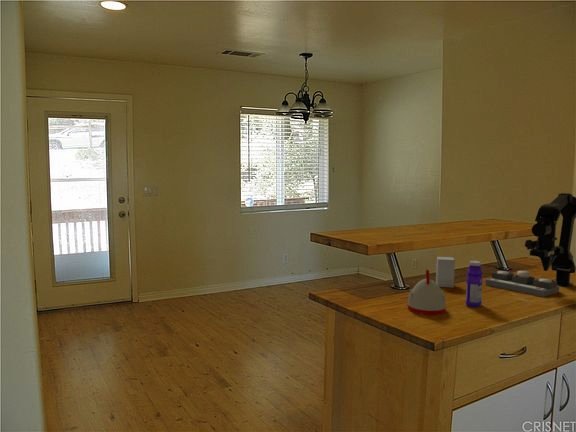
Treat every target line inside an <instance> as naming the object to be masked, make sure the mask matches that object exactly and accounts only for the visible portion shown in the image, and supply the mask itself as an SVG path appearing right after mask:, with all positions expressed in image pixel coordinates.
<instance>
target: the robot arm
mask: <svg viewBox="0 0 576 432" xmlns="http://www.w3.org/2000/svg"><path fill="white" fill-rule="evenodd" d="M560 217H562V223H561V229H560V236H559V242H558V245H556V241H557V240H558V237H556V230H557V223H558V221H559V218H560ZM575 219H576V196H574V195H573V194H572V193H568V192H567V193H566V192H565V193H564V192H561V193H559V194H558V195H557V196H556V197H555V198H554V199H553V200H552V201H551V202H550V203H545V204H542V205H541V206H540V207H539V208H538V210H537V214H536V216H535V218H534V221H535V222H536V223H534V224H533V226H532V227H531V234H533V236H534V237H537V240H532V239H527V240H525V242H524V247H525V248H526V249H527V251H528V250H529V256H533V257H538V258H539V259H540V262H541V264H542V268H543V271H544V272H548V270H549V269H550V267H551V271H555V281H557V286H562V287H569V286H572V285H573V284H574V283H573V282H571V274H576V264H575V261H574V256H573V254H572V252H571V248H572V247H571V245H572V240H573V232H574V224H575Z"/></svg>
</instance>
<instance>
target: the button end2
mask: <svg viewBox="0 0 576 432" xmlns="http://www.w3.org/2000/svg"><path fill="white" fill-rule="evenodd" d="M538 279H539V281H542V282H547V283H550V282H552V280H553V279H549V278H543V279H540V278H538Z"/></svg>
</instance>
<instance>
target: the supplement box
mask: <svg viewBox="0 0 576 432" xmlns="http://www.w3.org/2000/svg"><path fill="white" fill-rule="evenodd" d="M455 264H456V259H455V258H454V257H451V256H436V263H435V266H436V268H435V270H436V271H435V283H436V284H437V285H438V286H439V287H440V288H455V267H456V266H455Z"/></svg>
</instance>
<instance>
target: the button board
mask: <svg viewBox="0 0 576 432" xmlns="http://www.w3.org/2000/svg"><path fill="white" fill-rule="evenodd" d="M508 272H509V271H508ZM535 278H536V277H535V276H531V275H530V278H528V279H525V278H520V277H517V274H515V273H513V272H509V274H507V275H504V274H498V273H497V271H493V272H492V273H491V278H486V279H485V286H488V287H494V288H498V289H504V290H506V291H507V290H508V291H513V292H518V293H523V294H527V295H532V296H535V297H537V296H538V297H542V298H545V297H548V296H551V295H554V294H557V293H559V292H560V285H557V281H556V280H554V279H551V280H552V282H550V283H547V282H542V281H539V279H544V278H543V277H540V278H536V279H535Z"/></svg>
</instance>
